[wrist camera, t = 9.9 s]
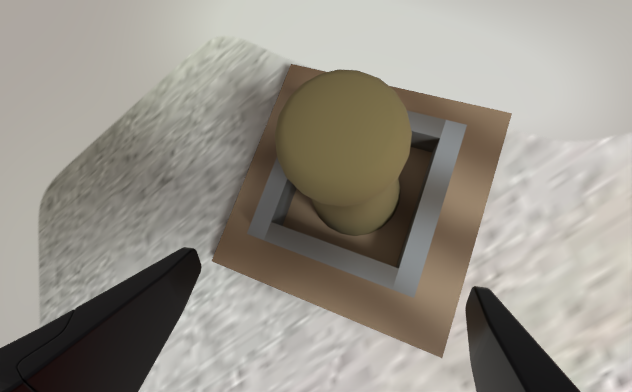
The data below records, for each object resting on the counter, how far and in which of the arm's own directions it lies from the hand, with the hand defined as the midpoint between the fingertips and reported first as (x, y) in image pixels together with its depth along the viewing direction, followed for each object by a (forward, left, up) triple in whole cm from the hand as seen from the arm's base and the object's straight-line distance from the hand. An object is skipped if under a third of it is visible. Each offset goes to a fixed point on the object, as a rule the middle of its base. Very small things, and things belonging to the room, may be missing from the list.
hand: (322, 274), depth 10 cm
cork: (+5, +1, -11) cm, 12 cm away
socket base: (+5, +1, -11) cm, 13 cm away
